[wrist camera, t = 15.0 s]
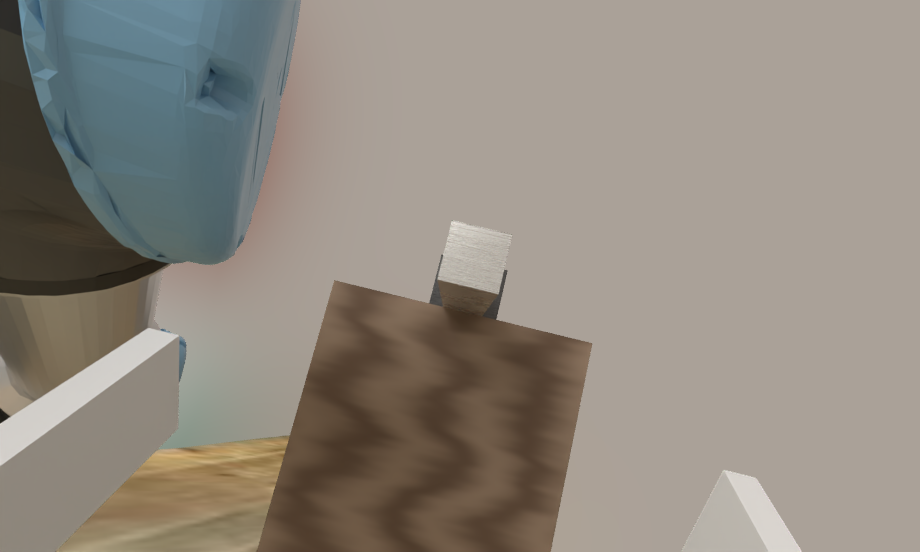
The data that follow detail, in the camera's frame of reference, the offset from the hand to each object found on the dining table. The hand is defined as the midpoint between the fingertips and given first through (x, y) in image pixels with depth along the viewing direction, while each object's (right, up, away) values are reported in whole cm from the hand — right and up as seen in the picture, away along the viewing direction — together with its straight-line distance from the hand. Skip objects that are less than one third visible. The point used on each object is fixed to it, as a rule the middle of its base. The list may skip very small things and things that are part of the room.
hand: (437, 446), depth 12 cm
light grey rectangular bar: (+1, +2, +25) cm, 25 cm away
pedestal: (-7, -29, +31) cm, 43 cm away
